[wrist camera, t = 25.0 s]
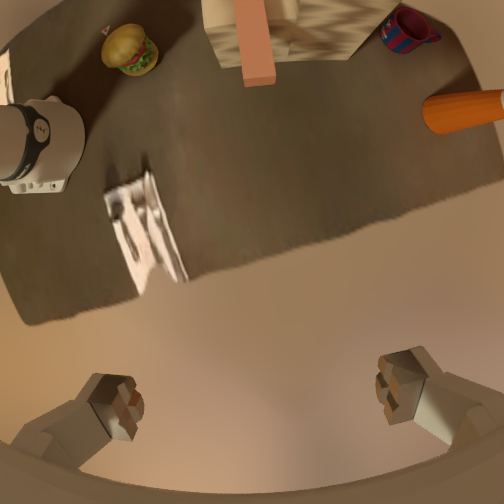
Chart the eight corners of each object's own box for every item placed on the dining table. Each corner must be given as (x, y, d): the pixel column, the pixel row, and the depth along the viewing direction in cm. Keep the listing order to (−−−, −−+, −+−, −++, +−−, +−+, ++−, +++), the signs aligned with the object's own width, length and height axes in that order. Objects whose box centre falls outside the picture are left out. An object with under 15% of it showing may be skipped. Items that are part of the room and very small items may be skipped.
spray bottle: (429, 157, 43) (545, 165, 17) (417, 96, 40) (525, 62, 14) (458, 154, 42) (570, 163, 17) (447, 96, 39) (554, 72, 14)
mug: (378, 18, 36) (392, 2, 29) (426, 33, 36) (444, 21, 29) (379, 48, 38) (395, 34, 31) (429, 63, 38) (449, 54, 31)
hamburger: (143, 87, 41) (110, 68, 29) (114, 70, 40) (77, 51, 28) (171, 50, 39) (146, 21, 28) (140, 35, 38) (111, 7, 26)
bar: (245, 87, 27) (243, 79, 24) (228, -37, 22) (225, -50, 19) (274, 84, 27) (275, 75, 24) (253, -39, 22) (252, -53, 19)
